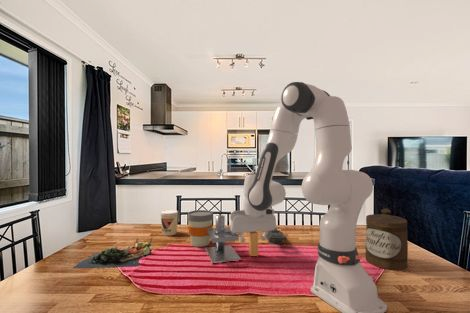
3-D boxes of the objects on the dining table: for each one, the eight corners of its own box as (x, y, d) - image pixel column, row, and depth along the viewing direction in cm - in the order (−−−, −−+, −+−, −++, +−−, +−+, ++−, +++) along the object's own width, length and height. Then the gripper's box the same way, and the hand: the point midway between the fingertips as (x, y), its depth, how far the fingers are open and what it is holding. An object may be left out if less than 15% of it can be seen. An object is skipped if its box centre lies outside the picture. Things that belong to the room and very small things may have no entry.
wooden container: (359, 261, 107) (359, 208, 106) (374, 252, 116) (374, 203, 116) (399, 274, 95) (400, 215, 95) (412, 263, 105) (413, 209, 105)
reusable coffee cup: (182, 246, 122) (182, 215, 122) (193, 238, 134) (193, 209, 134) (208, 249, 119) (208, 216, 119) (216, 240, 131) (216, 210, 131)
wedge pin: (257, 256, 111) (258, 233, 111) (251, 257, 110) (251, 233, 110) (255, 253, 114) (255, 231, 114) (249, 254, 113) (249, 231, 113)
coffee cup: (157, 235, 139) (157, 212, 139) (166, 230, 148) (166, 209, 148) (172, 236, 136) (172, 214, 136) (181, 231, 145) (181, 210, 145)
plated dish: (168, 244, 127) (168, 229, 127) (157, 271, 99) (156, 252, 99) (94, 247, 123) (93, 232, 123) (60, 276, 96) (59, 257, 95)
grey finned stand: (240, 260, 106) (240, 222, 106) (212, 264, 103) (212, 224, 103) (230, 247, 122) (230, 213, 121) (205, 249, 118) (205, 214, 118)
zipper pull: (267, 237, 116) (265, 222, 141) (267, 251, 117) (265, 234, 141) (288, 237, 116) (282, 222, 141) (287, 252, 116) (282, 234, 141)
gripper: (232, 212, 106) (231, 245, 107) (277, 210, 112) (277, 241, 112) (228, 209, 112) (228, 240, 113) (272, 206, 118) (271, 236, 118)
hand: (253, 241), depth 113 cm, fingers open, 8 cm apart
